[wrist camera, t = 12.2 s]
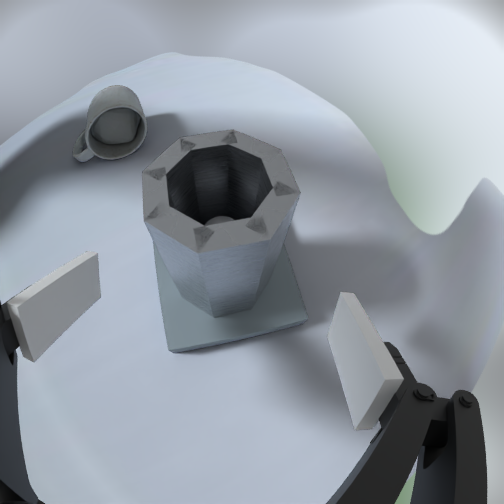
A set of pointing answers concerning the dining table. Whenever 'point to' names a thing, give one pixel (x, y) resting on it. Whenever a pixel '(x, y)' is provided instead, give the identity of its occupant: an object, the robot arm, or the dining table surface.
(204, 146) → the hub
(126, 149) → the ceramic mug
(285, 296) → the peg block
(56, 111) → the dining table surface
